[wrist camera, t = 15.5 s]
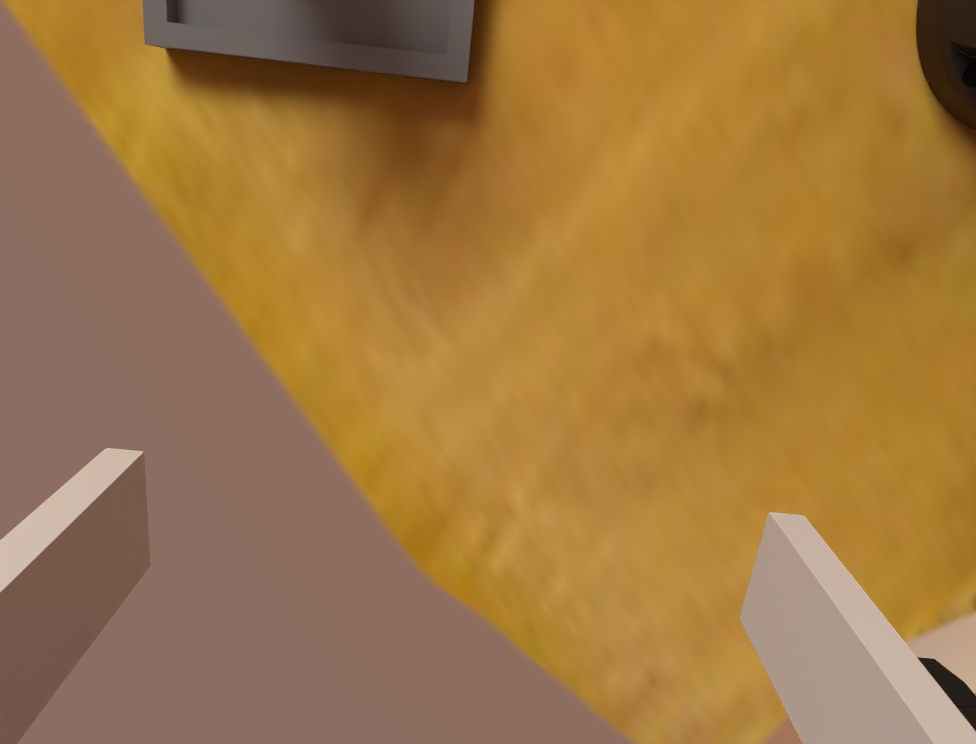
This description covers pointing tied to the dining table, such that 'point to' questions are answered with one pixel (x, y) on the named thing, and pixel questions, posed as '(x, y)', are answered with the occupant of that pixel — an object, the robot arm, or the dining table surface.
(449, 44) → the serving tray
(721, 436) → the dining table surface
